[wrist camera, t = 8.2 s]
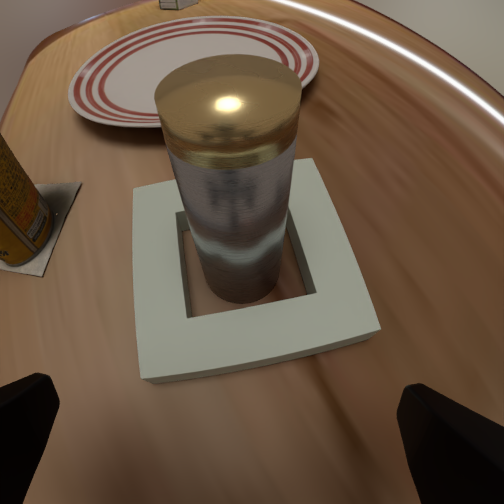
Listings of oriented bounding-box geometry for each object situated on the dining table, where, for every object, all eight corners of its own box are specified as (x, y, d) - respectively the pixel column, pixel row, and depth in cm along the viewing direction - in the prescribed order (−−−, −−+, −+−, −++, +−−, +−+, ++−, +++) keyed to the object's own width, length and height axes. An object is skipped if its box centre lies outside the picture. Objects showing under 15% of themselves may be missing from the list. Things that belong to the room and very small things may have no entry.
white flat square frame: (368, 339, 17) (380, 328, 15) (153, 383, 15) (140, 378, 14) (308, 177, 22) (311, 157, 21) (141, 206, 21) (133, 188, 20)
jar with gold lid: (293, 279, 18) (333, 97, 8) (227, 317, 17) (188, 148, 7) (254, 225, 20) (251, 45, 10) (192, 258, 19) (137, 80, 9)
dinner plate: (327, 44, 36) (330, 24, 33) (290, 177, 23) (294, 143, 20) (150, 34, 40) (147, 16, 37) (33, 143, 27) (21, 120, 24)
